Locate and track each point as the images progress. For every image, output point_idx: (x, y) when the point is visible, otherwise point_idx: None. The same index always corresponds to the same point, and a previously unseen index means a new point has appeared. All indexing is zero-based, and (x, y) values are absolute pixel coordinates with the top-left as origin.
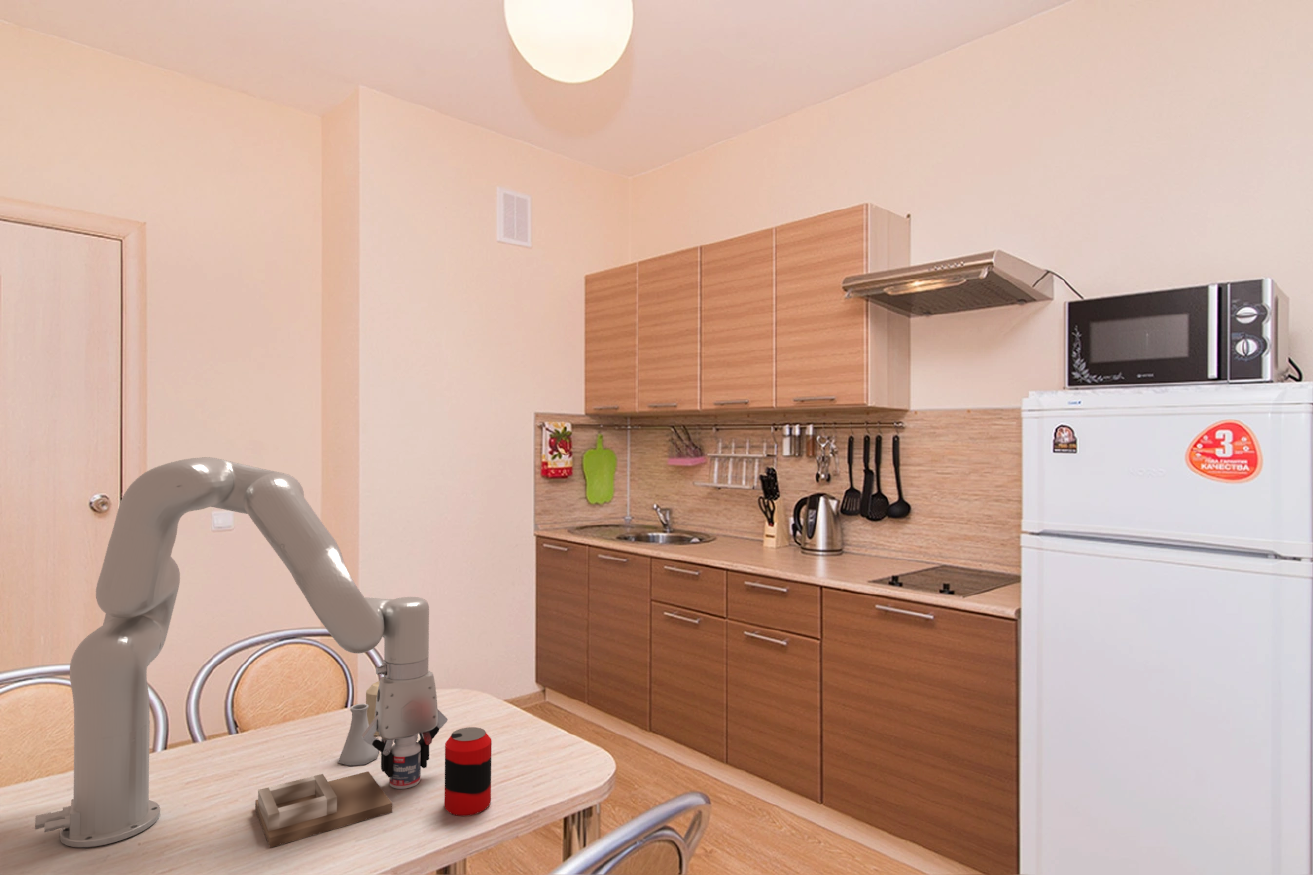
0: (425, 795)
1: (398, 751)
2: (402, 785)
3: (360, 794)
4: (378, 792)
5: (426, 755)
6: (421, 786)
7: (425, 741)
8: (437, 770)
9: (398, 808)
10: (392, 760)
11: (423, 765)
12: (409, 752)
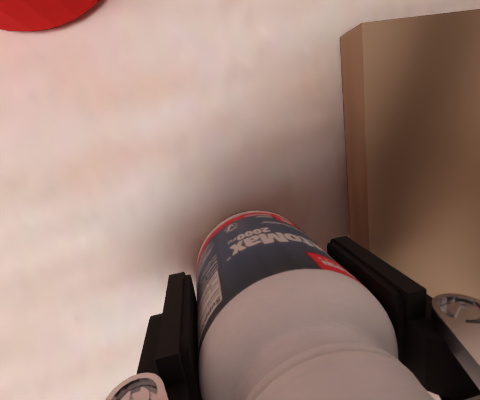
0: (195, 121)
1: (374, 310)
2: (275, 214)
3: (441, 170)
4: (383, 157)
5: (165, 310)
6: (199, 208)
7: (163, 397)
8: (120, 318)
9: (312, 58)
10: (375, 276)
11: (185, 278)
12: (299, 288)
